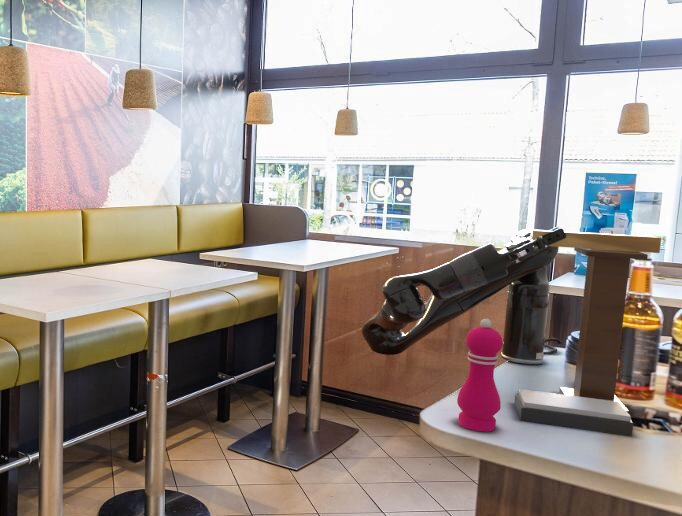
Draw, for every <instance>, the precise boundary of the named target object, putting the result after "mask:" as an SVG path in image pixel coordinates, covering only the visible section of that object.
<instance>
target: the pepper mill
mask: <svg viewBox="0 0 682 516" xmlns="http://www.w3.org/2000/svg"><path fill="white" fill-rule="evenodd" d="M491 326H492V321H491V320H490V319H489V318H483V319H481V320H480V326H477V327H474V328H472V329H470V330H469V332H467V335H466V341H465V343H466V346H467V348H468V349H469V351H468V352H467V355H468V356H467V360H468V361H469V371H468V375H467V378H466V380H465V382H464V383H463V384H462V386H461V388H460V389H459V392H458V394H457V398H456V403H457V406H458V408H459V409H460V410H461V411H460V412H459V413H458V418H457V419H458V420H457V423H458V424H459V425H460V426H461V427H463V428H465V429H467V430H471V431H476V432H482V433H483V432H485V433H486V432H493V431H495V430H496V427H497V426H496V425H497V419H496V417H495V416H496V415H497V414H498V413H499V412H500V410H501V397H500V394H499V391H498V388H497V385H496V382H495V377H494V373H495V366H496V365H497V364H498V363H499V361H498V360H499V355H498V353H499V352H500V351H502V347H503V336H502V335H501V333H500V332H499V331H497V329H495V328H492V327H491Z"/></svg>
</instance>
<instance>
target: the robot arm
mask: <svg viewBox="0 0 682 516" xmlns="http://www.w3.org/2000/svg"><path fill="white" fill-rule="evenodd" d="M531 230H536V229H534V228H525V229H522V230H519V231H517V232H516V233H515V234H514V235H513V236H512V237H511V239H510V241H509V242H508V243H506V244H504V247H505V248H502V249H500V250H499V251H498V250H497V248H496V246H495V245H494V244H493V243H491V242H488V243H487V244H485V245H482V246H480V247H477V248H475V249H473V250H470V251H469V252H466V253H463V254H461V255H460V256H458V257H456V258H454V259H453V260H451V261H449V262H446V263H444V264H442V265H440V266H437V267H434V268H433V269H429V270H425V271H422V272H417V273H411V274H405V275H404V274H403V275H399V276H393V277H390V278H389V279H387V280H386V281H385V282H384V284H383V285H382V288H381V291H382V292H381V293H382V295H383V297H384V299H385V300H384V302H383V303H382V305H381V306H380V309H379V310H378V311H376V313H374V314H373V315H372V316H371V317H369V319H368V320H366V322H365V323H364V324H363V325H362V327H361V335H362V337H363V339H364V340H365V342H366V344H367V345H368V347H369V348H370V349H371V351H372V352H373V353H377V354H380V355H384V356H394V355H395V356H396V355H400V354H402V353H404V352H405V351H406V350H408V349H409V348H411V347H412V346H413V345H415V344H416V343H418V342H419V341H421V340H422V339H424V338H425V337H427V336H428V335H430V334H431V333H433V332H434V331H436V330H438V329H440V328H441V327H443V326H445V325H446V324H448V323H450V322H452V321H453V320H455V319H457V318H459V317H461V316H462V315H464V314H465V313H467V312H469V311H471V310H472V309H474V308H476V307H477V306H479V305H480V304H482V303H483V302H485V301H486V300H488V299H490V298H491V297H493V296H495V295H496V294H497V293H499V292H500V291H502V290H503V289H504V288H506V287H507V294H506V295H507V296H506V308H505V317H504V327H503V328H504V329H503V336H502V340H503V345H502V348H501V354H500V356H501V359H503V360H506V361H509V362H510V363H516V364H521V365H522V364H523V365H541V364H543V362H544V356H545V355H553V354H556V353H557V352H558V349H557V347H555V346H552V345H549V344H546V343H548V342H556V343H557V344H559V345H562V341H561V340H560V339H558V338H555V337H550V338H549V337H548V338H546V330H547V321H548V320H547V319H548V311H549V299H550V291H551V285H550V282H549V280H548V273H547V269H548V267H547V266H549V265H551V263H552V262H554V260H556V258H557V256H558V253H559V250H560V249H559V248H560V247H554V246H548V245H550V244H553V243H555V242H558V241H560V240H562V239H565V238H566V234H565V232H564V231H565V230H564V229H563V228H561V227H559V226H555V227H553V228H551V229H549V231H552V232H549V233H547V234H545V235H542V236H538V237H537V238H534V239H532V240H530V234H531ZM534 243H536V245H533V244H534ZM418 287H425V288H427V289H428V290H429V291H430V293H431V294H430V296H429V298H428V300H427V302H426V304H425V302H424V300H423V298H422V296H421V293H420V291H419V290H418ZM414 322H416V323H415V325H413V327H411V329H410V330H409V331H408V332H406V333H404V331H403V329H405V328H406V327H407V326H408V324H411V323H412V324H413V323H414ZM544 349H549V351H544Z"/></svg>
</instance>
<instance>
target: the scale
mask: <svg viewBox="0 0 682 516" xmlns="http://www.w3.org/2000/svg"><path fill="white" fill-rule="evenodd" d="M513 403H514V404H513V405H514V408H515V410H516V413H517V415H518V418H519V420H520V421H522V422H523V421H524V422H530V423H536V424H544V425H550V426H556V427H557V426H558V427H564V428H573V429H579V430H585V431H593V432H600V433H607V434H614V435H621V436H629V437H633V432H634V421H633V420H632V416H631V415H630V413H629V414H628V413H627V411H626V410H625V409H624V408H623V407H622V406H621V405H620V403H619V402H618V401H610V400H602V399H594V398H586V397H578V396H570V395H563V394H559V393H554V392H547V391H538V390H531V389H523V388H518V390H517V392H515V393H514V402H513Z"/></svg>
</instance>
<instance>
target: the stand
mask: <svg viewBox="0 0 682 516" xmlns="http://www.w3.org/2000/svg"><path fill="white" fill-rule="evenodd" d="M573 251H575V252H577V253H579V254H581V255H584V256H586V257H587V260H586V268H585V278H584V279H585V280H584V288H583V296H582V304H581V305H582V306H581V315H580V325H579V334H578V343H577V354H576V362H575V371H574V379H573V381H574V382H573V388H570V387H563V386H560V387H559V389H558V390H559V391H558V394H563V395H570V396H578V397H586V398H594V399H602V400H610V401H618V402H619V403H620V405H621V406H622V407H623V408H624V409H625V410H626V411H627V413H628V414H629V415H630V410H629V409H628V408H627V407H626V406H625V404H623V402H622V401H621V400H620V399H619V397H617V395H616V389H617V388H616V386H617V379H618V370H619V361H620V354H621V353H620V351H621V342H622V335H623V325H624V318H625V310H626V309H625V307H626V299H627V290H628V281H629V275H630V274H629V272H630V265H631V260H644V261H647V260H648V257H649V254H648V253H645V252H634V251H618V250H602V249H586V248H573Z"/></svg>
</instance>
